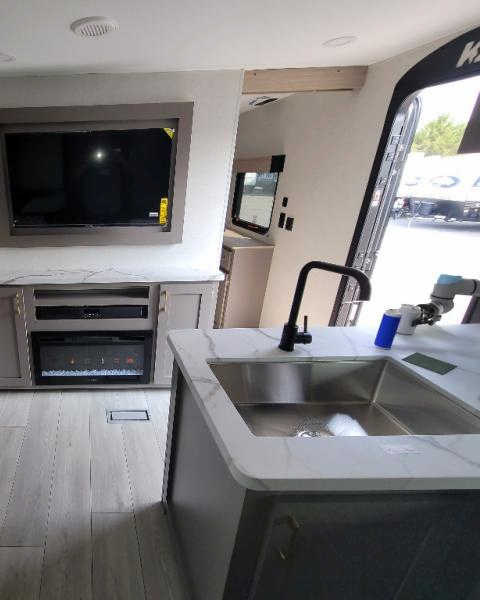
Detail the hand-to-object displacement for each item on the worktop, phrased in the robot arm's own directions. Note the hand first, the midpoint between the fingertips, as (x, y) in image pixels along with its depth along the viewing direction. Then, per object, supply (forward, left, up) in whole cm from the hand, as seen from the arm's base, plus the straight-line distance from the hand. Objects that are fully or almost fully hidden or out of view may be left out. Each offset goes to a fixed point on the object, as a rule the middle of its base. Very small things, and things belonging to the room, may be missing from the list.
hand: (400, 320), depth 137 cm
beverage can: (-3, +17, -7) cm, 19 cm away
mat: (-17, +17, -7) cm, 25 cm away
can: (0, -5, -7) cm, 8 cm away
